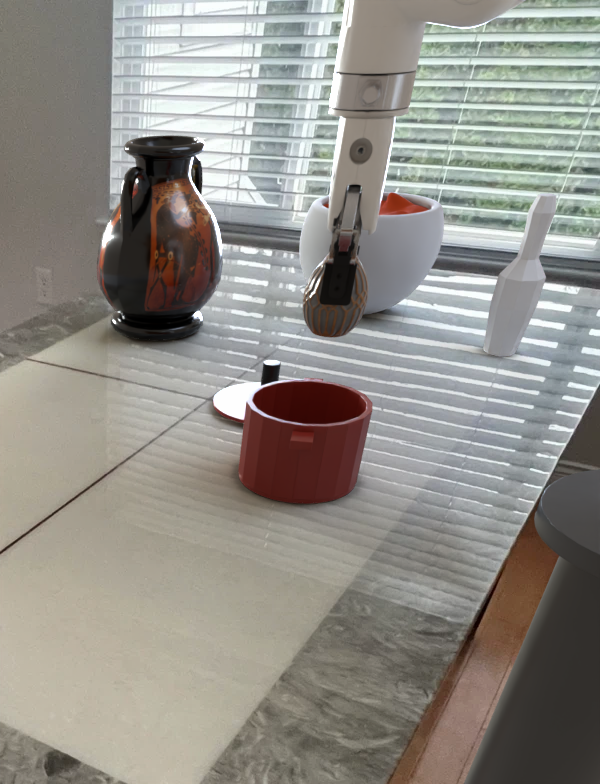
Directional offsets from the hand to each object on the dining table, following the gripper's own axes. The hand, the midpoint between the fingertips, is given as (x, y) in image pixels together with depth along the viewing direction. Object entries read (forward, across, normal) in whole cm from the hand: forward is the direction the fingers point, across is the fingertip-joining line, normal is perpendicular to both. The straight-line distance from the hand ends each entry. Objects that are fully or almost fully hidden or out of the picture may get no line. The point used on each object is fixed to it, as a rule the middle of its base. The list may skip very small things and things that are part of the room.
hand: (336, 292), depth 93 cm
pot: (+21, +71, -4) cm, 74 cm away
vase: (+4, 0, 0) cm, 4 cm away
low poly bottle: (+21, +51, -27) cm, 61 cm away
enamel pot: (+21, -2, +1) cm, 21 cm away
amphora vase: (+21, +52, +30) cm, 63 cm away
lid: (+20, +19, +7) cm, 29 cm away
